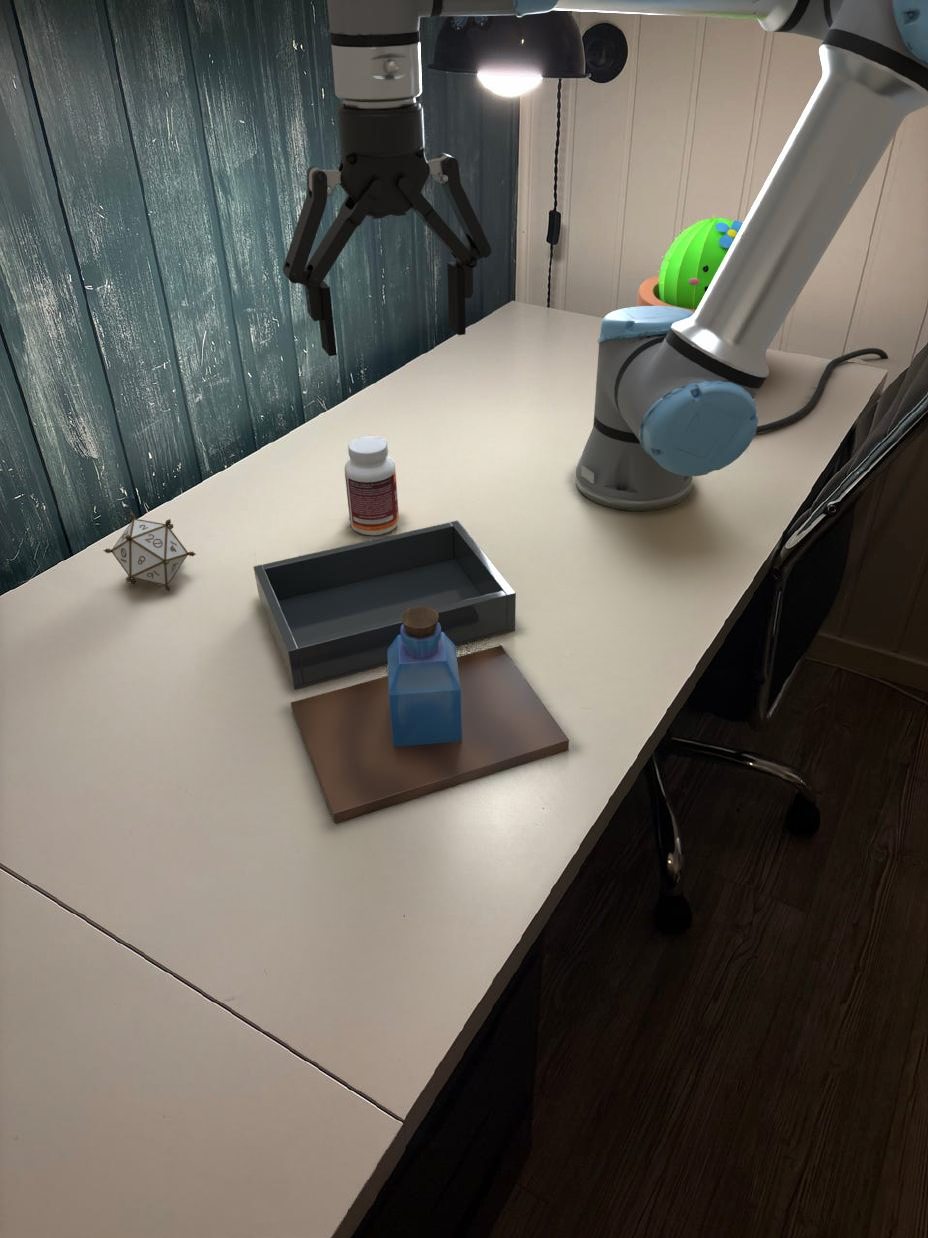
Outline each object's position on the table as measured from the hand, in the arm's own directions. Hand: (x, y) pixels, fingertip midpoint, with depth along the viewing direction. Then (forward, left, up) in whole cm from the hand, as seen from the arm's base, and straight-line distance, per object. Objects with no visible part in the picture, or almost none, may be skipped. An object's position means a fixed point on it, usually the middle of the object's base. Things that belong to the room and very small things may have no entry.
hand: (394, 341), depth 92 cm
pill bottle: (+1, -10, -27) cm, 29 cm away
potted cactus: (-63, -34, -27) cm, 76 cm away
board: (+8, +28, -27) cm, 39 cm away
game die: (+28, -8, -27) cm, 40 cm away
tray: (+6, +9, -27) cm, 29 cm away
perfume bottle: (+8, +28, -26) cm, 38 cm away
